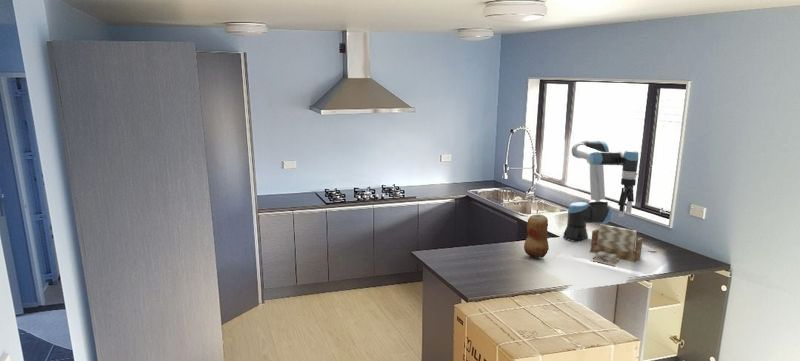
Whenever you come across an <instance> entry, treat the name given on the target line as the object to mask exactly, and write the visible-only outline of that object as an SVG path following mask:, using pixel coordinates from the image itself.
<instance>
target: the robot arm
mask: <svg viewBox="0 0 800 361" xmlns="http://www.w3.org/2000/svg"><path fill="white" fill-rule="evenodd" d="M570 153H571V155H572V156H573V157H575V158H577V159H583V160H586V163H587V164H588V165H589V186H590V187H589V188H590V189H589V190H590V200H589V202H588V203H587V202H582V201H579V202H572V203H570V204H569V206H568V210H567V223H566V225H567V226H566V227H565V230H564V232H563V239H565V238H566V239H565V240H567V239H569V240H568V241H571V240H573V241H572V242H578V241H580V242H582V241H584V240H588V239H589V234H588V231H587V224H599V225H600V224H608V223H609V222H610V221H611V218H612V216H613V209H612V206H611V205H609V201H607V200H606V191H605V173H604V172H605V169H604V166H622V171H621V181H620V184H621V185H622V186H624V187H621V192H620V197H619V200H618V203H617V206H619V209H618V217H619V218H624V217H625V213H626V214H627V213H628V214H631V213H632V207H633V202H635V199H634V198H635V196H634V187H635V186H636V182H637V181H636V178H637V176H638V173H637V171H638V165H639V152H638V151H635V150H625V151H624V152H623V151H616V152H615V151H612V152H611V151H610V150H609V146H608V144H607V143H606V142H605V141H601V140H579V141H576V142H575V143H573V144H572V146H571V148H570Z"/></svg>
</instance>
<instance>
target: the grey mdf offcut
mask: <svg viewBox="0 0 800 361" xmlns="http://www.w3.org/2000/svg"><path fill="white" fill-rule="evenodd" d="M595 256H596V258H598V259H603V260H608V261H612V262H613V261H614V260H615V259H617V258H616V254H611V253H606V252H601V251H600V252H598V253H597V254H596V253H595Z"/></svg>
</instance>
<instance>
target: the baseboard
mask: <svg viewBox="0 0 800 361" xmlns="http://www.w3.org/2000/svg"><path fill="white" fill-rule="evenodd" d="M635 245H636V241H635ZM641 252H647V253H658V252H657V250H655V249H653V248H651V247H649V246H648V245H645V244H643V243H642V248H641Z"/></svg>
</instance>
